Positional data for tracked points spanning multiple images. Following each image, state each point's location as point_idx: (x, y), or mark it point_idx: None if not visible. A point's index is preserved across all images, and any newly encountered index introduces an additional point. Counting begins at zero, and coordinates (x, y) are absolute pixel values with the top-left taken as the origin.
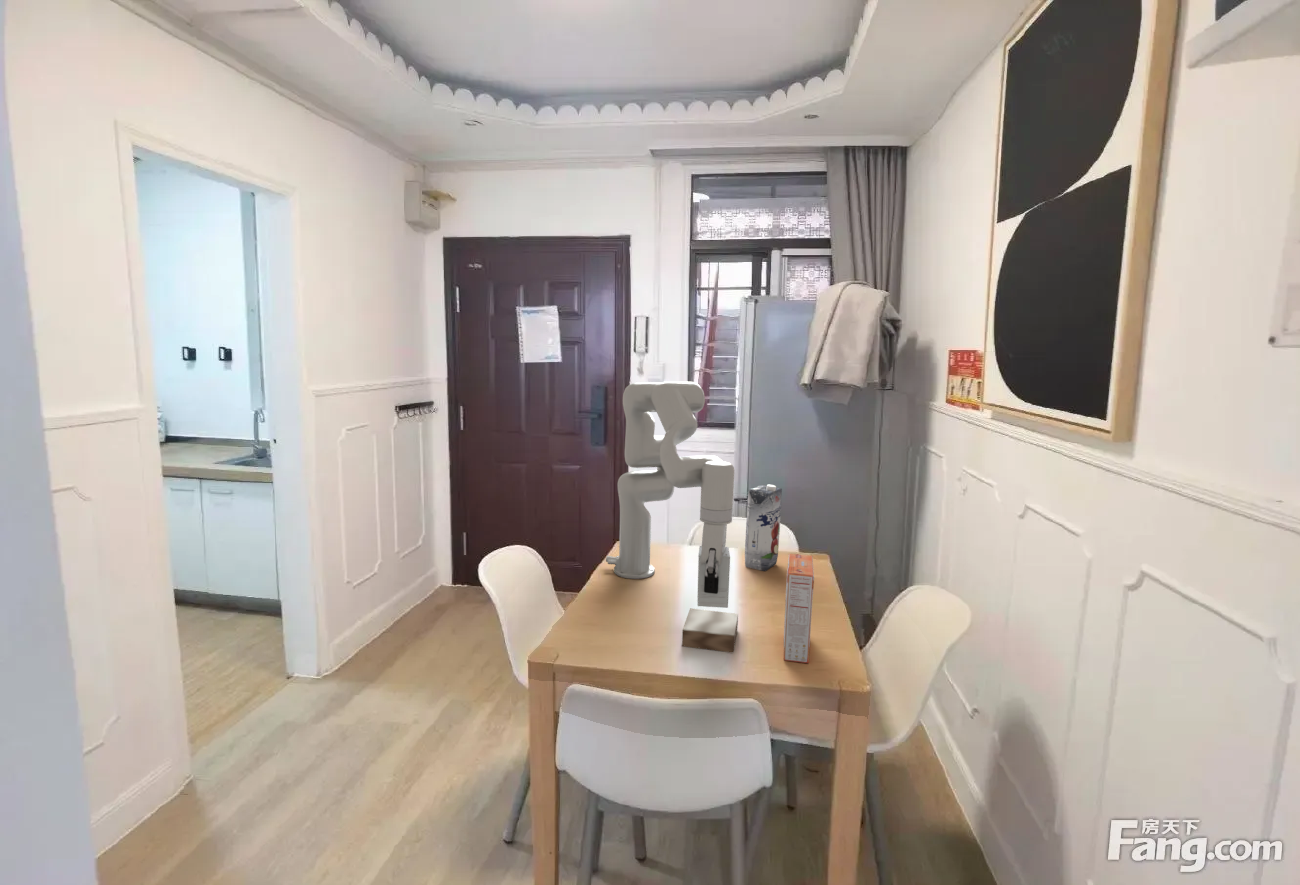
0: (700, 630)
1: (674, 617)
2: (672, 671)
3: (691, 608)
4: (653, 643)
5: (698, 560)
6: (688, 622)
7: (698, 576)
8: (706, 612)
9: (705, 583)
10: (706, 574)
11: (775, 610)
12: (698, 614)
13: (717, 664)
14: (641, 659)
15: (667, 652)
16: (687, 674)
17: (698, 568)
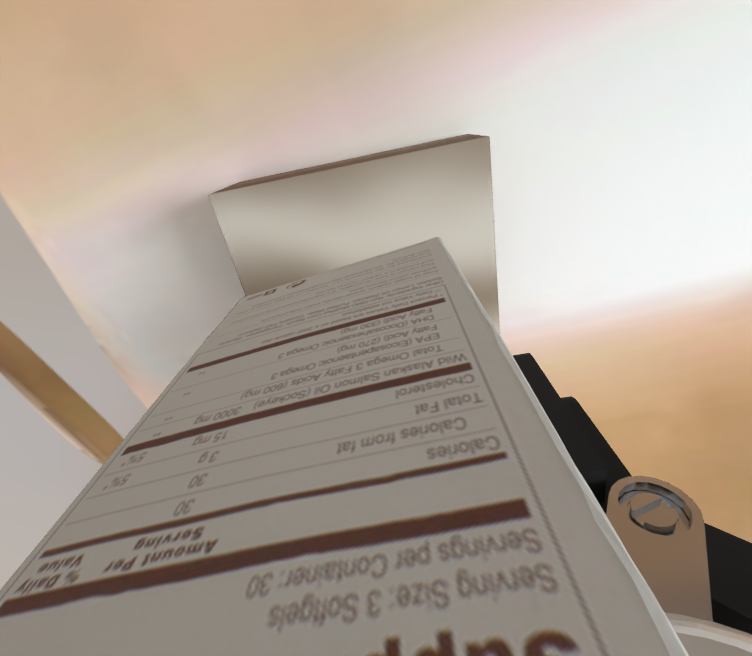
0: (248, 282)
1: (531, 10)
2: (37, 221)
3: (488, 146)
4: (182, 27)
5: (48, 653)
6: (297, 197)
7: (117, 450)
8: (464, 246)
9: None
10: None
11: (702, 415)
12: (421, 214)
13: (196, 345)
14: (6, 41)
15: (151, 140)
16: (63, 278)
17: (35, 549)
